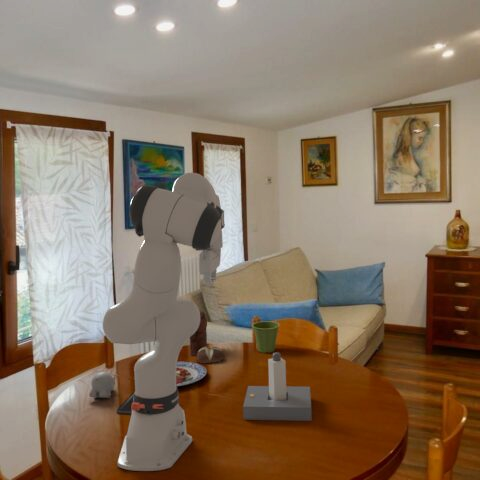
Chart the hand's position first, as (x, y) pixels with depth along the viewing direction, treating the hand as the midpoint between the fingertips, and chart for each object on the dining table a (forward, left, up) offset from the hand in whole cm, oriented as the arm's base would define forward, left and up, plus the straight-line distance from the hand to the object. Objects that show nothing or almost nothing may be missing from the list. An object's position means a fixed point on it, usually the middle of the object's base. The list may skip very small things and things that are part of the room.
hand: (210, 283), depth 168 cm
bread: (+34, +7, -38) cm, 51 cm away
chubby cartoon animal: (-5, +37, -37) cm, 53 cm away
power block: (-13, -22, -37) cm, 45 cm away
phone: (-11, +24, -38) cm, 46 cm away
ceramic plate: (+12, +18, -38) cm, 43 cm away
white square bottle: (-13, -22, -37) cm, 45 cm away
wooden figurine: (+43, +14, -37) cm, 59 cm away
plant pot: (+45, -15, -37) cm, 60 cm away
